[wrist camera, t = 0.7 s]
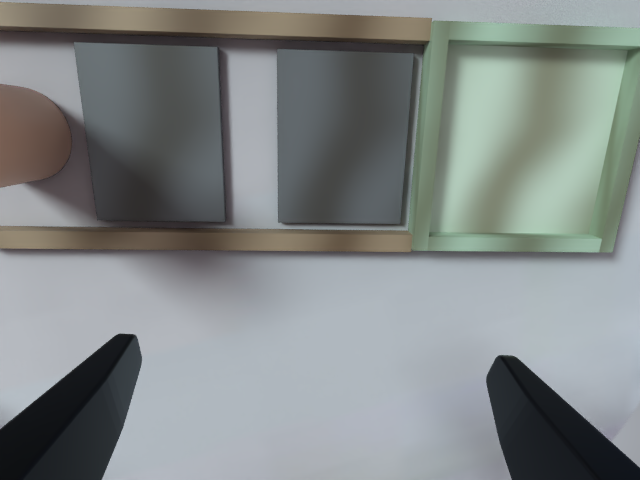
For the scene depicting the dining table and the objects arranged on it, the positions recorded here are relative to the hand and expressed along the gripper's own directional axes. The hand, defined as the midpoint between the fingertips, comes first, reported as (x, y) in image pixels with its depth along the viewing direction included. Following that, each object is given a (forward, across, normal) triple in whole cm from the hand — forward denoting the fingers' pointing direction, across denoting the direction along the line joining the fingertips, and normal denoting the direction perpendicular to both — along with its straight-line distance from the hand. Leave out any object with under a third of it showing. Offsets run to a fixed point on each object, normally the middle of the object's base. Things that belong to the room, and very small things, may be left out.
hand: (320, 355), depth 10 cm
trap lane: (+14, +1, 0) cm, 14 cm away
